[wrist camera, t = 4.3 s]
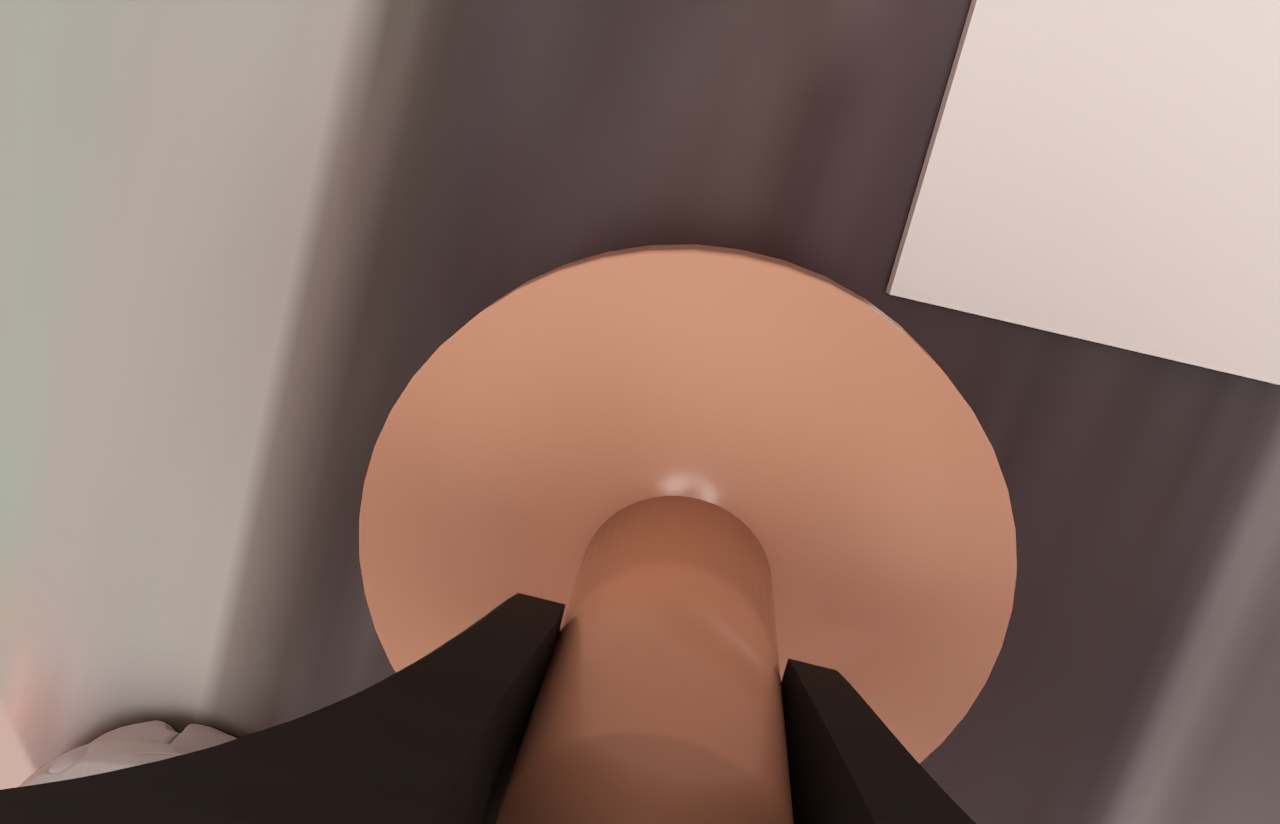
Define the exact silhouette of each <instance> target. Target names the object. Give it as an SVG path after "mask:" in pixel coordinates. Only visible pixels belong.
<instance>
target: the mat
mask: <svg viewBox="0 0 1280 824" xmlns="http://www.w3.org/2000/svg"><path fill="white" fill-rule="evenodd" d="M886 293H888V294H890V295H894V296H899V297H903V298H907V299H912V300H916V301H920V302H924V303H929V304H933V305H937V306H942V307H946V308H950V309H955V310H959V311H963V312H968V313H972V314H976V315H980V316H985V317H989V318H993V319H998V320H1002V321H1006V322H1011V323H1015V324H1019V325H1024V326H1028V327H1032V328H1036V329H1041V330H1045V331H1049V332H1054V333H1058V334H1062V335H1067V336H1071V337H1075V338H1080V339H1084V340H1088V341H1092V342H1097V343H1101V344H1105V345H1110V346H1114V347H1118V348H1123V349H1127V350H1131V351H1136V352H1140V353H1144V354H1148V355H1153V356H1157V357H1161V358H1166V359H1170V360H1174V361H1179V362H1183V363H1187V364H1192V365H1196V366H1200V367H1204V368H1209V369H1213V370H1217V371H1222V372H1226V373H1230V374H1235V375H1239V376H1243V377H1248V378H1252V379H1256V380H1260V381H1265V382H1269V383H1273V384H1278V385H1280V0H972V1H971V5H970V8H969V12H968V15H967V18H966V22H965V25H964V28H963V32H962V35H961V39H960V42H959V45H958V49H957V52H956V56H955V59H954V62H953V66H952V69H951V72H950V76H949V79H948V83H947V86H946V89H945V93H944V96H943V100H942V103H941V106H940V110H939V113H938V116H937V120H936V123H935V127H934V130H933V133H932V137H931V140H930V144H929V147H928V150H927V154H926V157H925V160H924V164H923V167H922V171H921V174H920V177H919V181H918V184H917V188H916V191H915V194H914V198H913V201H912V204H911V208H910V211H909V215H908V218H907V221H906V225H905V228H904V232H903V235H902V238H901V242H900V245H899V248H898V252H897V255H896V259H895V262H894V265H893V269H892V272H891V276H890V279H889V282H888V286H887V289H886Z"/></svg>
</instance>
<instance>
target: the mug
mask: <svg viewBox="0 0 1280 824" xmlns="http://www.w3.org/2000/svg"><path fill="white" fill-rule="evenodd" d="M235 739H238V738H235V737H233V736H231V735H228V734H226V733H224V732H222V731H219V730H217V729H215V728H212V727H209V726H204V725H200V724H189V725H187V727H186V728H185V729H184V730H183V732H182V733H178V732H176V731H175V730H174V729H173V728H172V727H171V726H170V725H169V724H167V723H165V722H162V721H158V720H156V721H148V722H142V723H137V724H132V725H127V726H123V727H120V728H117V729H114V730H112V731H109V732H107V733H105V734H103V735H101V736H100V737H98V738H96V739H95V740H93V741H92V742H90V743H89V744H87V745H83V746H80V747H78V748H75V749H72V750H70V751H68V752H66V753H64V754H62V755H60V756H58V757H56V758H55V759H53V760H52V761H50V762H49V763H47V764H46V765H44V766H43V767H41V768H40V769H39V770H38V771H36V772H35V773H34V774H33V775H31V776H30V777H29V778H28V779H27V780H26V781H25V782H23V784H22V785H20V786H19V787H23V786H30V785H36V784H43V783H49V782H56V781H62V780H69V779H75V778H80V777H85V776H90V775H96V774H101V773H106V772H111V771H115V770H120V769H124V768H129V767H133V766H138V765H142V764H147V763H151V762H156V761H160V760H164V759H168V758H172V757H175V756H179V755H183V754H187V753H191V752H195V751H199V750H202V749H206V748H210V747H213V746H216V745H220V744H223V743H226V742H229V741H232V740H235Z"/></svg>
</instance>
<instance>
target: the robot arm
mask: <svg viewBox="0 0 1280 824" xmlns="http://www.w3.org/2000/svg"><path fill="white" fill-rule="evenodd" d="M564 609H565V604H562V603H558V602H554V601H550V600H546V599H542V598H537V597H533V596H529V595H525V594H521V593H517V594H515V595H514V596H512V597H510V598H508V599H507V600H506V601H504V602H503V603H501V604H500V605H499V606H497V607H496V608H495V609H493V610H492V611H491V612H489V613H488V614H487V615H485V616H484V617H482V618H481V619H480V620H478V621H477V622H475V623H474V624H473V625H471V626H470V627H468V628H467V629H466V630H464V631H463V632H461V633H460V634H458V635H457V636H455V637H454V638H452V639H450V640H449V641H447V642H446V643H444V644H443V645H441V646H440V647H438V648H437V649H435V650H434V651H432V652H431V653H429V654H427V655H426V656H424V657H423V658H421V659H419V660H418V661H416V662H414V663H412V664H411V665H409V666H407V667H405V668H403V669H402V670H400V671H398V672H396V673H395V674H393V675H391V676H389V677H387V678H386V679H384V680H382V681H380V682H379V683H377V684H375V685H373V686H371V687H369V688H367V689H365V690H363V691H361V692H359V693H357V694H355V695H352V696H350V697H348V698H346V699H344V700H341V701H339V702H336V703H334V704H332V705H329V706H327V707H325V708H322V709H320V710H318V711H315V712H313V713H310V714H308V715H305V716H303V717H300V718H298V719H295V720H292V721H289V722H286V723H283V724H280V725H277V726H274V727H271V728H268V729H265V730H262V731H259V732H256V733H253V734H250V735H247V736H244V737H241V738H238V739H235V740H232V741H229V742H226V743H223V744H220V745H216V746H213V747H210V748H206V749H202V750H199V751H195V752H191V753H187V754H183V755H179V756H175V757H172V758H168V759H164V760H160V761H156V762H151V763H147V764H142V765H138V766H133V767H129V768H124V769H120V770H115V771H111V772H106V773H101V774H96V775H90V776H85V777H80V778H75V779H69V780H62V781H56V782H49V783H43V784H36V785H30V786H23V787H17V788H11V789H4V790H0V824H496V821H497V817H498V813H499V809H500V806H501V803H502V800H503V797H504V794H505V791H506V788H507V786H508V783H509V780H510V777H511V774H512V771H513V768H514V765H515V762H516V759H517V756H518V753H519V750H520V747H521V744H522V741H523V738H524V735H525V732H526V729H527V726H528V723H529V720H530V717H531V714H532V711H533V708H534V705H535V702H536V699H537V697H538V694H539V691H540V688H541V686H542V683H543V680H544V677H545V674H546V671H547V668H548V665H549V662H550V659H551V656H552V653H553V650H554V647H555V644H556V641H557V638H558V635H559V632H560V627H561V623H562V618H563V614H564ZM781 688H782V699H783V710H784V721H785V732H786V743H787V755H788V766H789V777H790V788H791V799H792V810H793V821H794V824H976V823H975V822H974V821H973V820H972V819H971V818H970V817H969V816H968V815H967V814H966V813H965V812H964V811H963V810H962V809H961V808H960V807H959V806H958V805H957V804H956V803H955V802H954V801H953V800H952V799H951V798H950V797H949V796H948V795H947V794H946V793H945V791H944V790H943V789H942V788H941V787H940V786H939V785H938V784H937V783H936V782H935V781H934V780H933V779H932V777H931V776H930V775H929V774H928V773H927V772H926V771H925V770H924V769H923V768H922V766H921V765H920V764H919V763H918V762H917V761H916V760H915V758H914V757H913V756H912V755H911V754H910V753H909V752H908V751H907V749H906V748H905V747H904V746H903V745H902V744H901V742H900V741H899V740H898V739H897V738H896V737H895V736H894V734H893V733H892V732H891V731H890V730H889V729H888V727H887V726H886V725H885V724H884V723H883V721H882V720H881V719H880V718H879V717H878V716H877V714H876V713H875V712H874V711H873V710H872V709H871V707H870V706H869V705H868V704H867V703H866V701H865V700H864V699H863V698H862V697H861V696H860V694H859V693H858V692H857V691H856V690H855V689H854V688H853V686H852V685H851V684H850V683H849V682H848V681H847V680H846V679H845V678H844V677H843V676H842V675H841V674H840V673H839V672H838V671H837V670H834V669H830V668H826V667H822V666H818V665H813V664H809V663H805V662H801V661H797V660H793V659H789V658H788V661H787V664H786V668H785V671H784V674H783V678H782V681H781Z"/></svg>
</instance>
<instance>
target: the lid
mask: <svg viewBox="0 0 1280 824" xmlns="http://www.w3.org/2000/svg"><path fill="white" fill-rule="evenodd" d="M359 559H360V565H361V572H362V578H363V585H364V591H365V596H366V600H367V603H368V606H369V610H370V613H371V616H372V620H373V623H374V627H375V630H376V632H377V634H378V637H379V639H380V641H381V643H382V646H383V648H384V650H385V652H386V655H387V657H388V659H389V661H390V663H391V665H392V667H393V668H394V670H395V672H398V671H400V670H402V669H403V668H405V667H407V666H409V665H411V664H412V663H414V662H416V661H418V660H419V659H421V658H423V657H424V656H426V655H427V654H429V653H431V652H432V651H434V650H435V649H437V648H438V647H440V646H441V645H443V644H444V643H446V642H447V641H449V640H450V639H452V638H454V637H455V636H457V635H458V634H460V633H461V632H463V631H464V630H466V629H467V628H468V627H470V626H471V625H473V624H474V623H475V622H477V621H478V620H480V619H481V618H482V617H484V616H485V615H487V614H488V613H489V612H491V611H492V610H493V609H495V608H496V607H497V606H499V605H500V604H501V603H503V602H504V601H506V600H507V599H508V598H510V597H512V596H514V595H515V594H517V593H521V594H525V595H529V596H533V597H537V598H542V599H546V600H550V601H554V602H558V603H562V604H565V609H564V614H563V618H562V623H561V627H560V632H559V635H558V638H557V641H556V644H555V647H554V650H553V653H552V656H551V659H550V662H549V665H548V668H547V671H546V674H545V677H544V680H543V683H542V686H541V688H540V691H539V694H538V697H537V699H536V702H535V705H534V708H533V711H532V714H531V717H530V720H529V723H528V726H527V729H526V732H525V735H524V738H523V741H522V744H521V747H520V750H519V753H518V756H517V759H516V762H515V765H514V768H513V771H512V774H511V777H510V780H509V783H508V786H507V788H506V791H505V794H504V797H503V800H502V803H501V806H500V809H499V813H498V817H497V821H496V824H794V821H793V810H792V799H791V788H790V777H789V766H788V755H787V743H786V732H785V721H784V710H783V699H782V688H781V681H782V678H783V674H784V671H785V668H786V664H787V661H788V658H789V659H793V660H797V661H801V662H805V663H809V664H813V665H818V666H822V667H826V668H830V669H834V670H837V671H838V672H839V673H840V674H841V675H842V676H843V677H844V678H845V679H846V680H847V681H848V682H849V683H850V684H851V685H852V686H853V688H854V689H855V690H856V691H857V692H858V693H859V694H860V696H861V697H862V698H863V699H864V700H865V701H866V703H867V704H868V705H869V706H870V707H871V709H872V710H873V711H874V712H875V713H876V714H877V716H878V717H879V718H880V719H881V720H882V721H883V723H884V724H885V725H886V726H887V727H888V729H889V730H890V731H891V732H892V733H893V734H894V736H895V737H896V738H897V739H898V740H899V741H900V742H901V744H902V745H903V746H904V747H905V748H906V749H907V751H908V752H909V753H910V754H911V755H912V756H913V757H914V758H915V760H916V761H917V762H918V763H919V764H920V763H921V762H922V761H923V760H924V759H925V758H926V757H927V756H928V755H930V754H931V753H932V752H933V751H934V750H935V749H936V748H937V747H938V746H939V745H940V744H942V742H943V741H944V740H945V739H946V738H947V736H948V735H949V734H950V733H951V732H952V730H953V729H954V728H955V727H956V726H957V725H958V723H959V722H960V721H961V720H962V719H963V717H964V716H965V715H966V714H967V712H968V710H969V709H970V707H971V706H972V704H973V702H974V701H975V699H976V698H977V696H978V695H979V693H980V691H981V690H982V688H983V687H984V685H985V683H986V682H987V679H988V677H989V675H990V673H991V670H992V668H993V666H994V664H995V661H996V659H997V657H998V655H999V652H1000V650H1001V648H1002V645H1003V641H1004V638H1005V634H1006V630H1007V627H1008V623H1009V620H1010V616H1011V612H1012V607H1013V599H1014V591H1015V583H1016V574H1017V557H1016V530H1015V525H1014V519H1013V514H1012V509H1011V503H1010V498H1009V493H1008V489H1007V486H1006V483H1005V480H1004V477H1003V475H1002V472H1001V469H1000V466H999V463H998V460H997V458H996V455H995V452H994V449H993V447H992V446H991V444H990V442H989V440H988V438H987V436H986V434H985V432H984V431H983V429H982V427H981V425H980V423H979V421H978V419H977V418H976V416H975V414H974V412H973V410H972V409H971V408H970V406H969V405H968V404H967V402H966V401H965V400H964V398H963V397H962V396H961V394H960V393H959V392H958V390H957V389H956V387H955V386H954V385H953V383H952V382H951V381H950V379H949V378H948V377H947V375H946V374H945V373H944V372H943V371H942V369H941V368H940V367H939V366H938V365H937V363H936V362H935V361H934V360H933V359H932V358H931V356H930V355H929V354H928V353H927V352H926V351H925V350H924V349H923V348H922V347H921V346H920V345H919V344H918V343H917V342H916V341H915V340H914V339H913V338H912V337H911V336H910V335H909V334H908V333H907V332H906V331H905V330H904V329H903V328H902V327H901V326H900V325H899V324H898V323H896V322H895V321H894V320H892V319H891V318H890V317H888V316H887V315H886V314H884V313H883V312H882V311H880V310H879V309H878V308H876V307H875V306H874V305H873V304H871V303H870V302H869V301H867V300H866V299H865V298H863V297H861V296H859V295H857V294H856V293H854V292H852V291H850V290H849V289H847V288H845V287H843V286H841V285H840V284H838V283H836V282H834V281H833V280H831V279H829V278H827V277H825V276H823V275H820V274H818V273H815V272H813V271H810V270H808V269H805V268H803V267H800V266H798V265H795V264H792V263H790V262H787V261H785V260H781V259H777V258H773V257H769V256H765V255H761V254H757V253H753V252H749V251H745V250H741V249H733V248H724V247H716V246H707V245H698V244H682V245H648V246H642V247H635V248H629V249H622V250H616V251H609V252H605V253H601V254H598V255H595V256H591V257H588V258H584V259H581V260H578V261H574V262H571V263H568V264H565V265H562V266H560V267H558V268H556V269H554V270H551V271H549V272H547V273H545V274H542V275H540V276H538V277H536V278H534V279H531V280H529V281H527V282H525V283H524V284H522V285H521V286H519V287H517V288H516V289H514V290H513V291H511V292H509V293H508V294H506V295H505V296H503V297H501V298H500V299H498V300H497V301H495V302H494V303H492V304H491V305H489V306H488V307H487V308H486V309H484V310H483V311H482V312H480V313H479V314H478V315H477V316H475V317H474V318H473V319H472V320H470V321H469V322H468V323H467V324H466V325H464V326H463V327H462V328H461V329H460V330H459V331H457V332H456V333H455V334H454V335H453V336H451V337H450V338H449V339H448V340H447V341H446V342H444V343H443V344H442V345H441V346H440V347H439V348H438V349H437V350H436V351H435V353H434V354H433V355H432V356H431V357H430V358H429V359H428V360H427V362H426V363H425V364H424V365H423V366H422V367H421V368H420V370H419V371H418V372H417V373H416V374H415V375H414V376H413V378H412V379H411V381H410V382H409V384H408V385H407V387H406V388H405V390H404V391H403V393H402V395H401V396H400V398H399V399H398V401H397V402H396V404H395V405H394V407H393V408H392V410H391V412H390V414H389V416H388V418H387V420H386V423H385V425H384V427H383V429H382V431H381V434H380V436H379V438H378V440H377V442H376V445H375V447H374V450H373V454H372V457H371V461H370V464H369V468H368V471H367V475H366V478H365V482H364V487H363V495H362V502H361V510H360V517H359Z"/></svg>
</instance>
